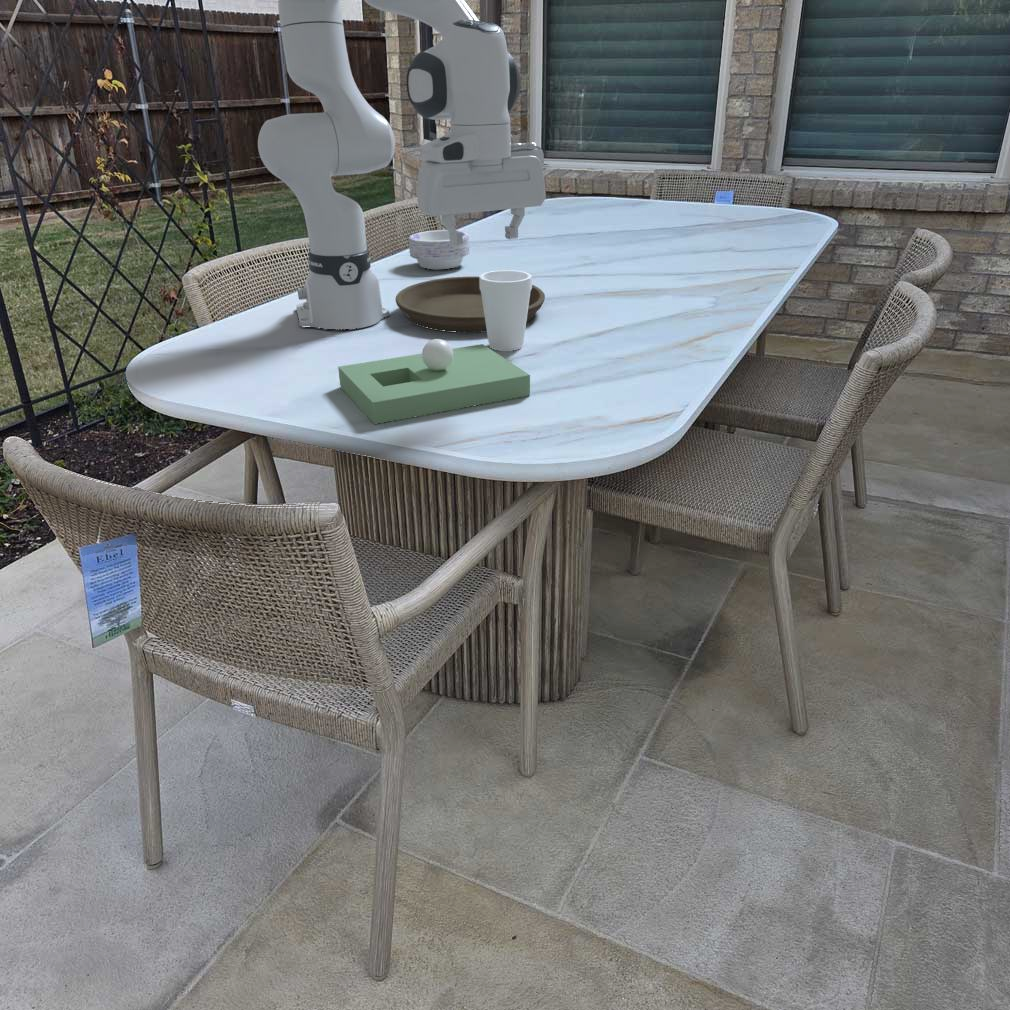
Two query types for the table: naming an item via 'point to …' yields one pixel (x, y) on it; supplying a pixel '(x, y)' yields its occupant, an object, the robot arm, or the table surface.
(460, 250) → the paper bowls
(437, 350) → the ball
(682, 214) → the table surface
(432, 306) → the plant saucer
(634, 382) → the table surface
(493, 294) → the foam cup
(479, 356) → the green
